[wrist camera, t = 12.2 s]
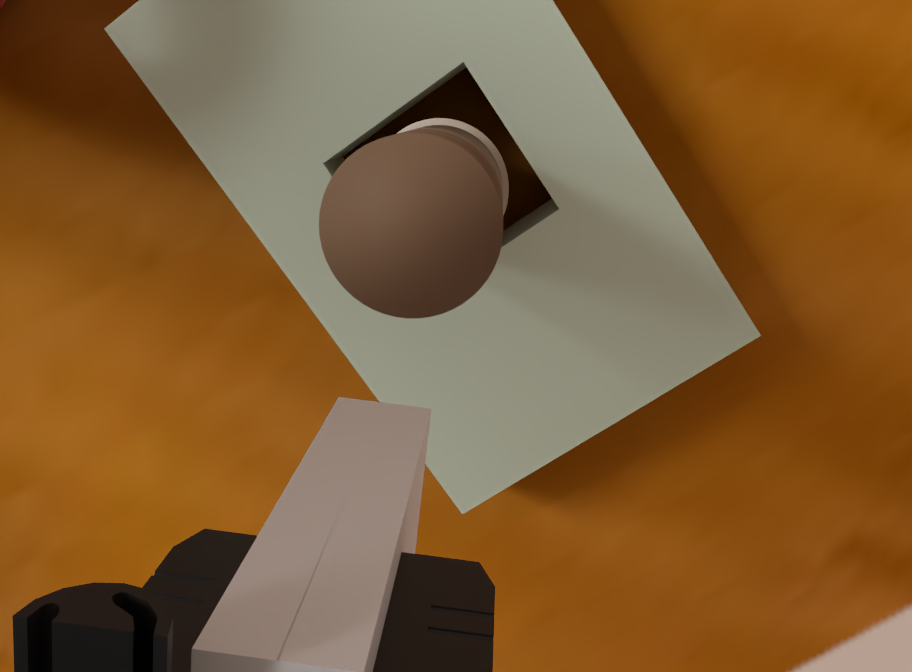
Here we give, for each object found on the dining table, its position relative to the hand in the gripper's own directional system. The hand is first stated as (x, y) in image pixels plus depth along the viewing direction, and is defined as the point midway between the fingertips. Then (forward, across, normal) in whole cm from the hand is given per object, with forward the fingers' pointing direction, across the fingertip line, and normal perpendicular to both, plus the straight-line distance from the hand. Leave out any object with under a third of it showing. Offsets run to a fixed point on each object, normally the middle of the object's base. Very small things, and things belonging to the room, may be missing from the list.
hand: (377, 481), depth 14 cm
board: (+19, 0, +3) cm, 19 cm away
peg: (+19, 0, +3) cm, 19 cm away
